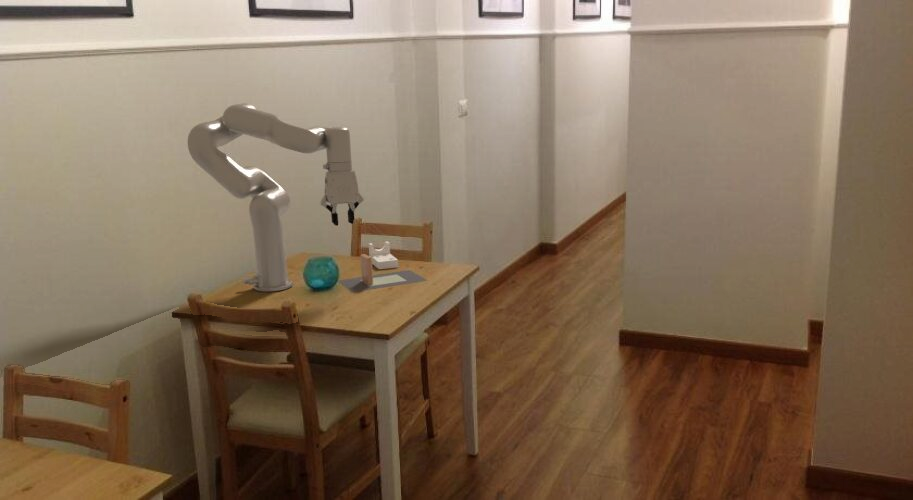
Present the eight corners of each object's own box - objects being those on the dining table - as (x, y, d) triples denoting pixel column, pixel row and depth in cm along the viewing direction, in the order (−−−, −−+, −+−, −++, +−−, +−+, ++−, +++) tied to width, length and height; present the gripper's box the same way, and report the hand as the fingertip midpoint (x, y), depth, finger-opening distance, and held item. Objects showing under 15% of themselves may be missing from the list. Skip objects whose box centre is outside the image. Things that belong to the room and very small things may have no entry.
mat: (352, 294, 262) (352, 292, 262) (337, 282, 276) (337, 280, 276) (427, 282, 272) (427, 280, 272) (409, 271, 286) (409, 269, 286)
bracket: (369, 263, 300) (368, 243, 299) (388, 261, 303) (387, 241, 301) (378, 272, 288) (377, 250, 287) (398, 269, 291) (397, 248, 289)
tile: (368, 285, 269) (366, 258, 267) (362, 280, 274) (360, 254, 272) (373, 284, 270) (371, 257, 268) (367, 280, 275) (365, 253, 273)
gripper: (316, 170, 253) (321, 229, 258) (369, 166, 260) (372, 222, 264) (310, 168, 260) (314, 225, 264) (361, 163, 267) (364, 219, 271)
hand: (343, 223), depth 264 cm, fingers open, 4 cm apart
